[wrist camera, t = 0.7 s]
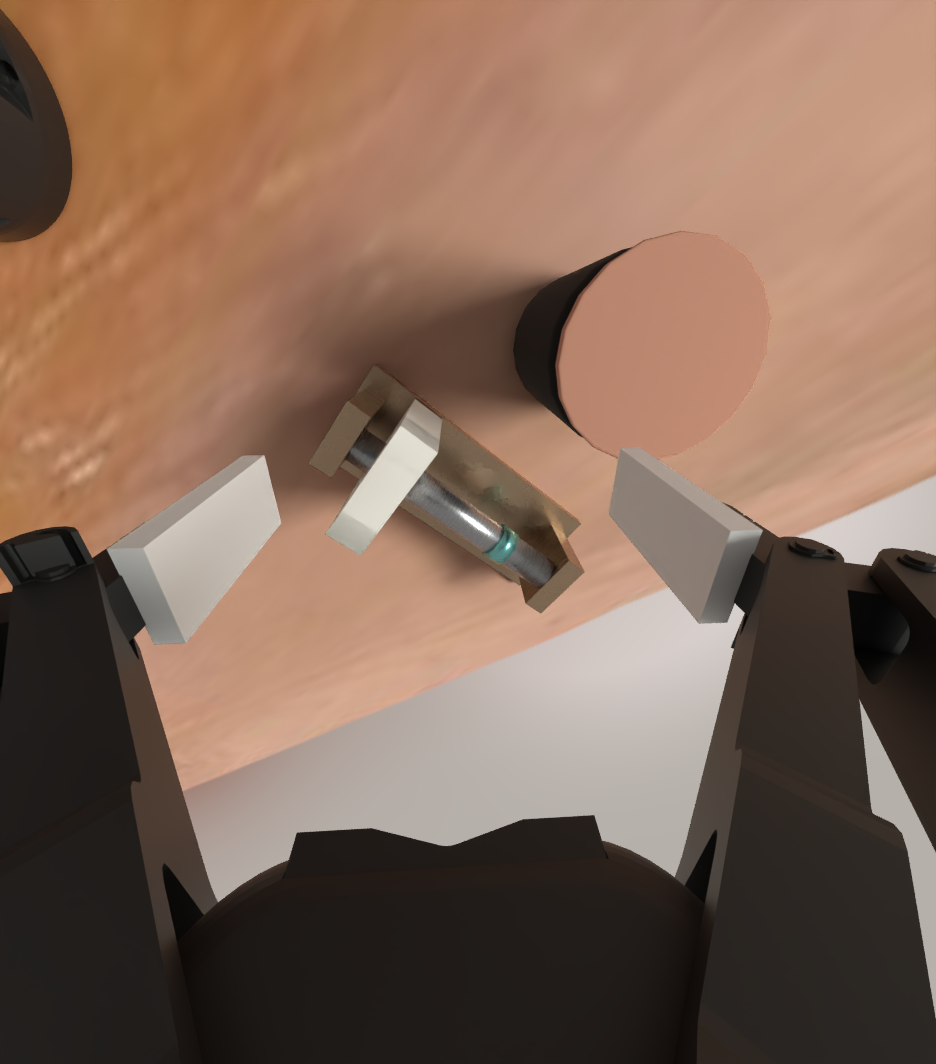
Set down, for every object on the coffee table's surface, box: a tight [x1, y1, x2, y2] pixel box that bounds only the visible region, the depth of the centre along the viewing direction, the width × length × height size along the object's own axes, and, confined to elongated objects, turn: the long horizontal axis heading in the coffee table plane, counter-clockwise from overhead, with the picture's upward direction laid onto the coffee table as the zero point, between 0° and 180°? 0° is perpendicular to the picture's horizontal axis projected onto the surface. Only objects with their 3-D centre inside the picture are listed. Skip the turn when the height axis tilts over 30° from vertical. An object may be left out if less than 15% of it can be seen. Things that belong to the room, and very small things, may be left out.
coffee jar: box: [514, 231, 771, 459], centre depth 28 cm, size 11×11×18 cm
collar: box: [325, 399, 442, 555], centre depth 33 cm, size 3×10×11 cm, turn 142°
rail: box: [309, 364, 584, 613], centre depth 38 cm, size 26×10×9 cm, turn 52°
